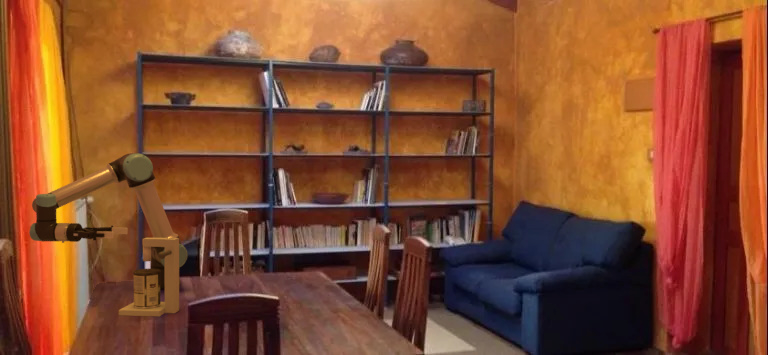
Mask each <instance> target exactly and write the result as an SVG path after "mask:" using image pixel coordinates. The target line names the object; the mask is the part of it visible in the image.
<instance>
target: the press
mask: <svg viewBox="0 0 768 355" xmlns="http://www.w3.org/2000/svg"><path fill="white" fill-rule="evenodd" d="M179 238H180V237H179ZM179 238H154V237H144V238H142V239H141V240H142V261H143V262H145V263H146V262H150V261H151V247H165V252H160V253H159V254H158V257H159V258H160V259H164V258H165V289H164V301H160V304H161V305H160V306H159V307H155V308H149V309H139V308H134V301H133V302H132V303H129V304H128V305H126V306H124V307H122V308H120V309H118V316H126V317H127V316H131V317H132V316H135V317H161V316H162V315H164V314H176V313H177V312H179V311H180V286H179V278H180V267H179Z"/></svg>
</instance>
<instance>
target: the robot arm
mask: <svg viewBox="0 0 768 355" xmlns="http://www.w3.org/2000/svg"><path fill="white" fill-rule="evenodd" d="M153 165H154V164H153V162H152V161H151V159H150V158H149V157H148V156H147V155H144V154H143V153H137V152H135V153H133V152H132V153H127V154H124V155H122V156H120V157H119V158H117V159H115V160H114V161H111V162H108V163H107V165H106V167H104V168H101V169H100V170H97V171H95V172H92V173H90V174H88V175H86V176H83V177H81V178H79V179H76V180H75V181H73V182H71V183H68V184H66V185H63V186H61V187H59V188H56V189H55V190H53V191H50V192H48V193H39V194H37V195H35V198H34V199H33V201H32V204H31V206H32V210H33V211H34V212H35V214H36V217H35V218H36V219H35V220H36V221H35V222H34V223H32V224H31V225H30V227H29V228H30V229H29V237H30V239H31V240H33V241H36V242H61V244H65V242H71V243H74V242H75V243H76V242H80V241H81V239H85V240H86V239H87V240H93V241H96V240H97V239H101V240H102V239H110V240H111V239H113V240H114V237H115V235H128V232H129V228H128V227H121V226H120V227H118V226H117V227H114V225H111V226H103V227H102V226H101V227H100V226H99V227H94V226H93V227H89V226H86V227H83V226H82V225H81V223H78V222H77V223H76V222H75V223H74V222H72V223H71V222H58V223H57V209H59V208H61V207H63V206H66V205H68V204H71V203H72V202H74V201H77V200H79V199H81V198H83V197H85V196H87V195H91V194H92V193H94V192H97V191H99V190H100V189H103V188H105V187H107V186H109V185H112V184H113V183H115V184H119V183H121V182H125V181H126V183H127V185H128V189H131V190H133V191H134V193H135V195H136V197H137V201H138V203H139V205H140V208H141V210H142V212H143V215H144V217H145V220H146V223H147V224H148V228H149V230H150V232H151V235H152V238H179V268H181V267H183V266H184V265H185V263H186V262H187V260H188V256H189V255H188V250H187V248H186V246H184V245H183V244H182V241H181V239H180V237H179V234H178V233H175V232H174V231H173V228H172V226H171V224H170V221H169V218H168V216H167V213H166V211H165V208H164V207H163V206H164V205H163V203H162V201H161V198H160V196H159V193H158V191H157V188H156V186H155V181H156V176H155V173H154V166H153ZM160 252H165V247H151V261H149V263H150V264H149V265H150V267H149V269H159V270H161V272H160V290H163V289H164V290H165V258H164V259H160V258H159V257H158V254H159V253H160ZM180 286H181V278H180V277H179V287H180Z"/></svg>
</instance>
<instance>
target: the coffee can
mask: <svg viewBox="0 0 768 355" xmlns="http://www.w3.org/2000/svg"><path fill="white" fill-rule="evenodd" d="M160 272H161V270H159V269H150V268H141V269H135V270H133V271H132V273H133V275H132V276H133V302H134V308H139V309H149V308H155V307H159V306H160V305H161V304H160V302H161V289H160Z"/></svg>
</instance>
